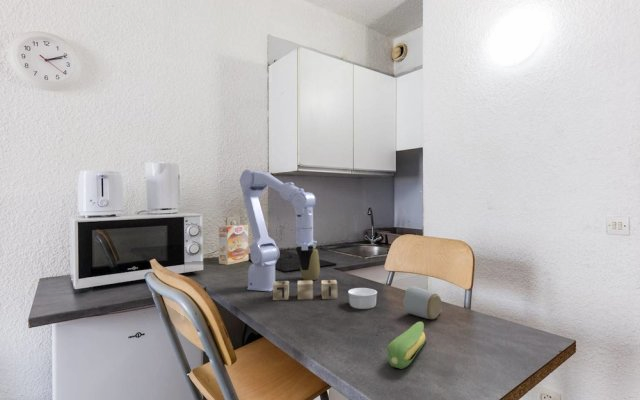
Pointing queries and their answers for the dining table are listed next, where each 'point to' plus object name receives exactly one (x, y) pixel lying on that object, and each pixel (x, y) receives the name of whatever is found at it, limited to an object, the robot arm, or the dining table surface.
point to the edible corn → (406, 346)
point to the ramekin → (362, 298)
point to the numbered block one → (329, 289)
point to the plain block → (305, 289)
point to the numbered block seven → (281, 290)
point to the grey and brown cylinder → (422, 303)
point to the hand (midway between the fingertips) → (305, 268)
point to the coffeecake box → (233, 244)
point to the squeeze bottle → (312, 266)
